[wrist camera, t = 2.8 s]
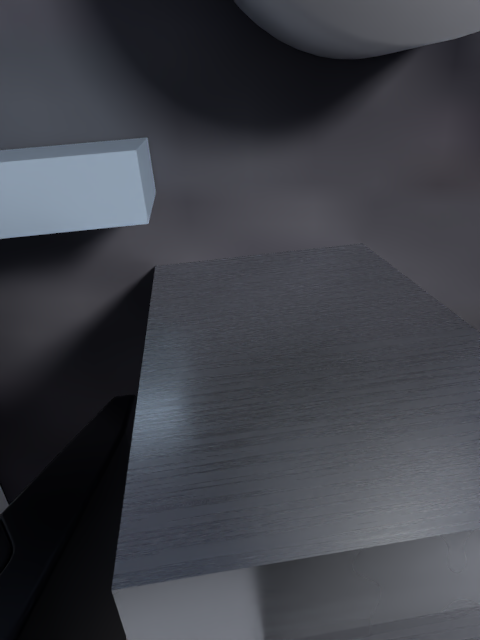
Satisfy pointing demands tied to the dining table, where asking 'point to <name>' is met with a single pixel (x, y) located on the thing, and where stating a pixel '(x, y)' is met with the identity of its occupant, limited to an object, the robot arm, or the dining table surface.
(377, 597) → the block
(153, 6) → the dining table surface
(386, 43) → the wheel
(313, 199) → the dining table surface
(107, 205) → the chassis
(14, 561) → the robot arm
